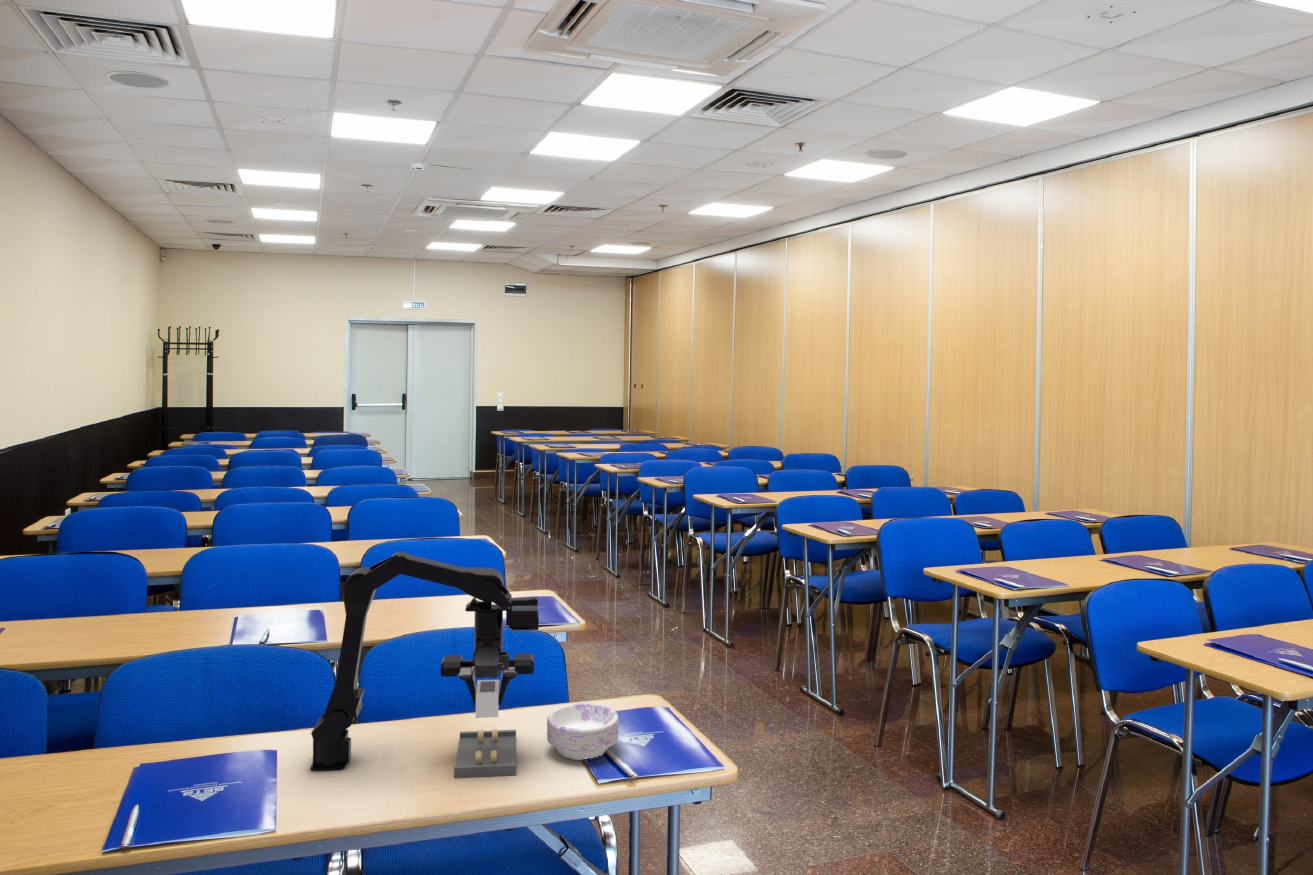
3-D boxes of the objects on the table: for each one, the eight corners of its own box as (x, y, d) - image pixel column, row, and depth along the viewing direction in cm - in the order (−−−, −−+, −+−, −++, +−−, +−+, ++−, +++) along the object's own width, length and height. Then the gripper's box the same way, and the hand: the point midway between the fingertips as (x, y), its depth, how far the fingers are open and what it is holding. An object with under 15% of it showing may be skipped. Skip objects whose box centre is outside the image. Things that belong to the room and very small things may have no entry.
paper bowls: (535, 761, 178) (536, 724, 177) (560, 733, 193) (561, 698, 192) (606, 771, 174) (607, 733, 174) (626, 742, 189) (627, 706, 189)
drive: (475, 717, 174) (475, 693, 174) (477, 703, 182) (477, 679, 182) (498, 716, 175) (498, 692, 175) (498, 702, 183) (499, 679, 183)
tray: (454, 777, 169) (454, 760, 169) (459, 740, 187) (460, 724, 187) (515, 775, 171) (516, 758, 171) (515, 738, 189) (516, 723, 189)
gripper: (438, 643, 168) (437, 722, 169) (535, 641, 171) (533, 718, 172) (443, 627, 179) (442, 701, 180) (533, 626, 182) (532, 698, 183)
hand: (487, 705), depth 178 cm, fingers closed on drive, 4 cm apart
